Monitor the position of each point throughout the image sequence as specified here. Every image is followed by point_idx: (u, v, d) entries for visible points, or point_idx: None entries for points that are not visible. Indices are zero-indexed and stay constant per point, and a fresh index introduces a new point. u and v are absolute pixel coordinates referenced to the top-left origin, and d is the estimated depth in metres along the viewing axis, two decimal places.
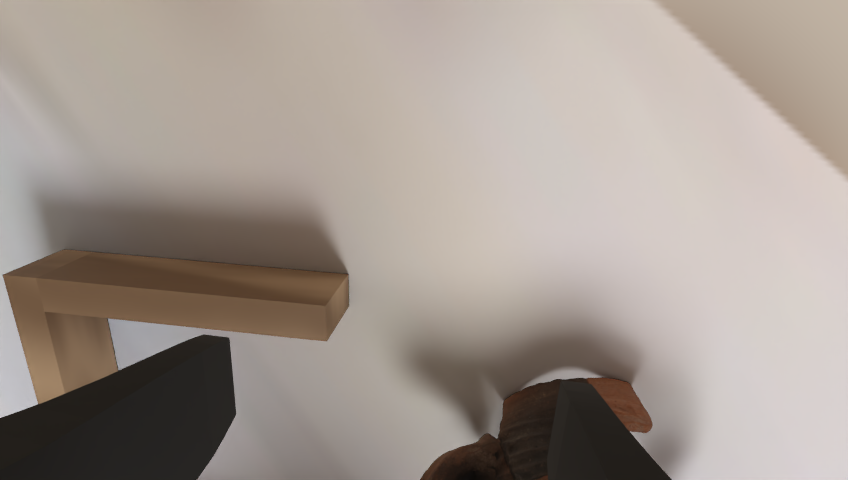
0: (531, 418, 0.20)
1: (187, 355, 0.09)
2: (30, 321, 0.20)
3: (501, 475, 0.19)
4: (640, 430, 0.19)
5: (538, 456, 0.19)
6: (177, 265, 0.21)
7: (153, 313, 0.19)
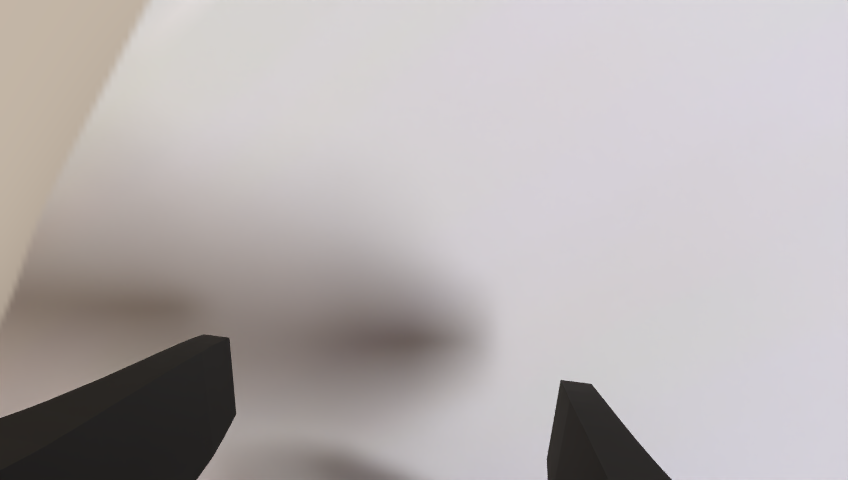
0: None
1: (187, 354, 0.09)
2: None
3: None
4: None
5: None
6: None
7: None
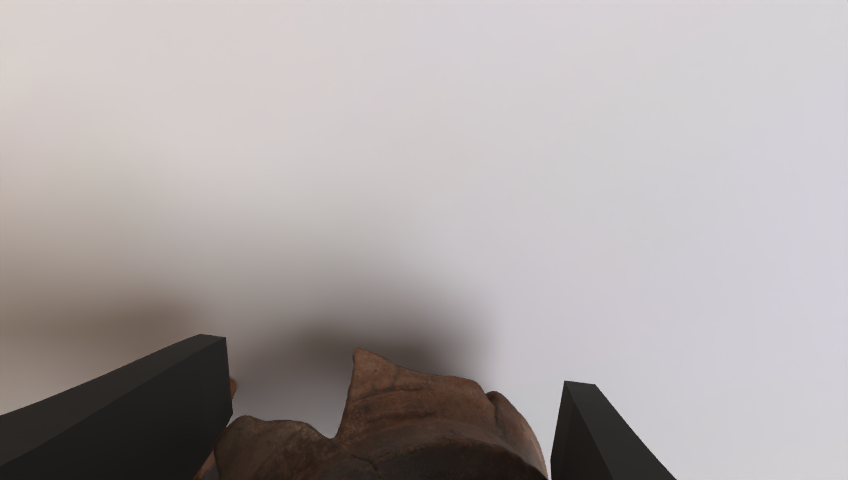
0: None
1: (184, 354, 0.09)
2: None
3: None
4: None
5: None
6: None
7: None
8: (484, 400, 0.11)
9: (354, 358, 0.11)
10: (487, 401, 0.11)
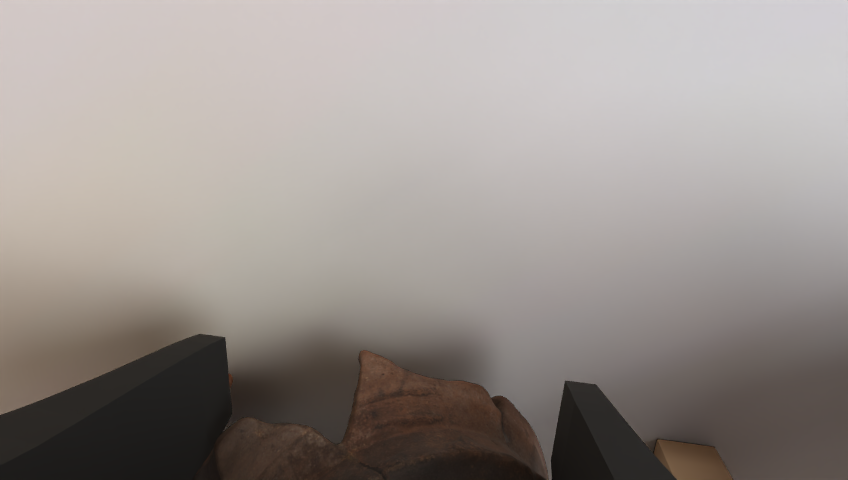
0: None
1: (183, 354, 0.09)
2: None
3: None
4: None
5: None
6: None
7: None
8: (491, 406, 0.11)
9: (361, 360, 0.10)
10: (494, 407, 0.11)
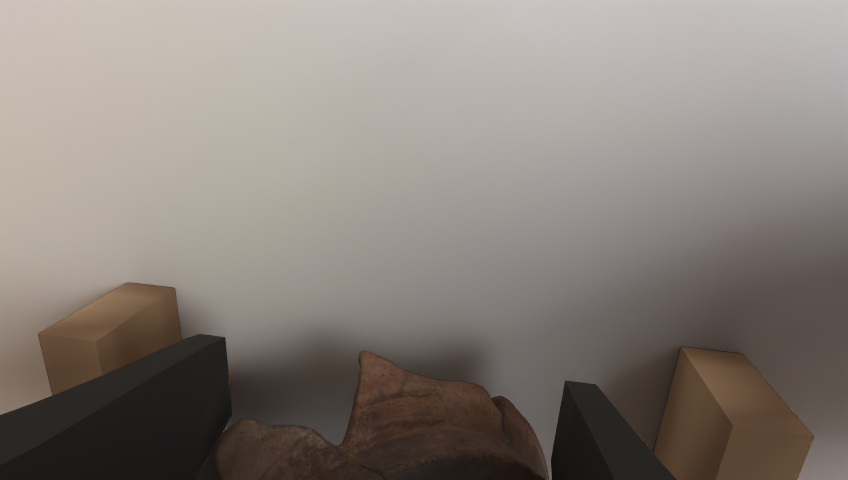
0: None
1: (183, 354, 0.09)
2: None
3: None
4: None
5: None
6: None
7: None
8: (491, 406, 0.11)
9: (360, 361, 0.10)
10: (494, 407, 0.11)
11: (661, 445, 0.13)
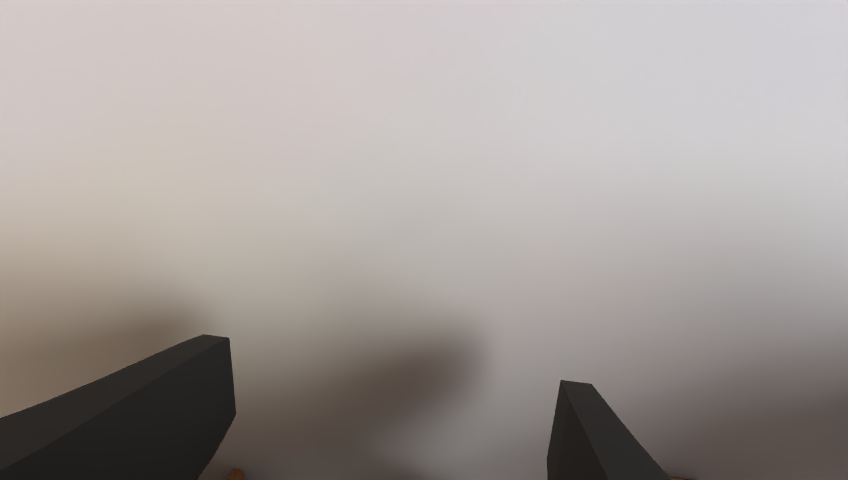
0: None
1: (187, 355, 0.09)
2: None
3: None
4: None
5: None
6: None
7: None
8: None
9: None
10: None
11: None
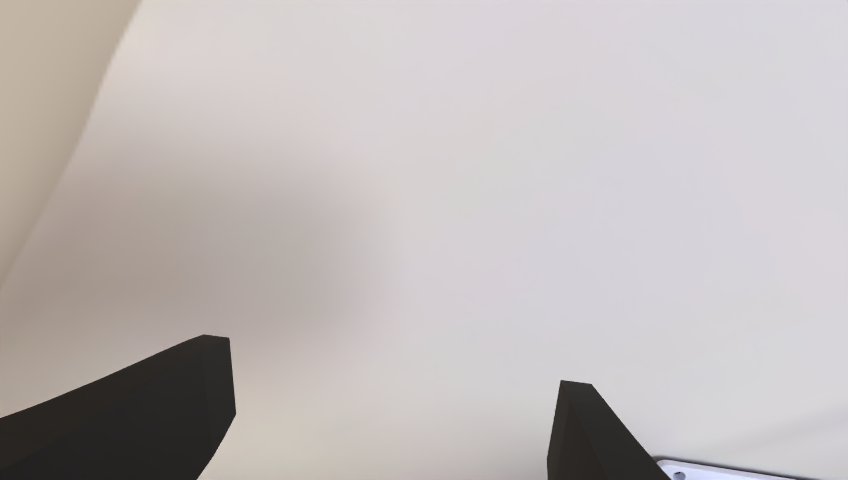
0: None
1: (187, 355, 0.09)
2: None
3: None
4: None
5: None
6: None
7: None
8: None
9: None
10: None
11: None
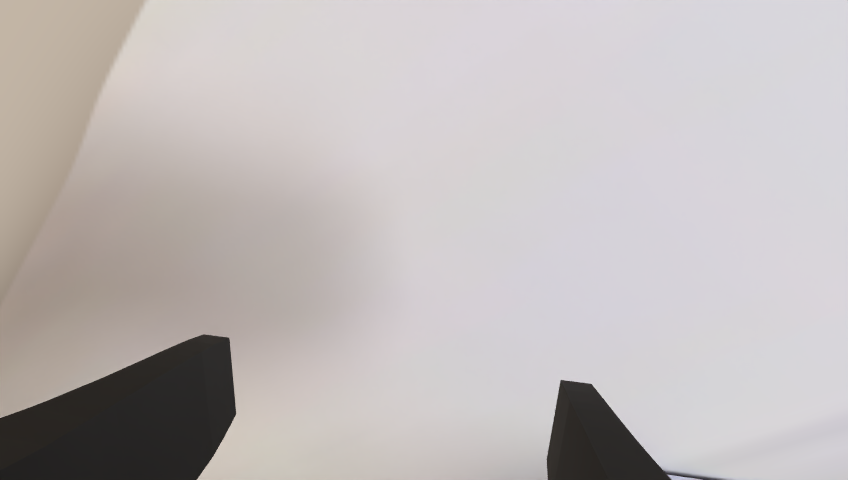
0: None
1: (187, 354, 0.09)
2: None
3: None
4: None
5: None
6: None
7: None
8: None
9: None
10: None
11: None
